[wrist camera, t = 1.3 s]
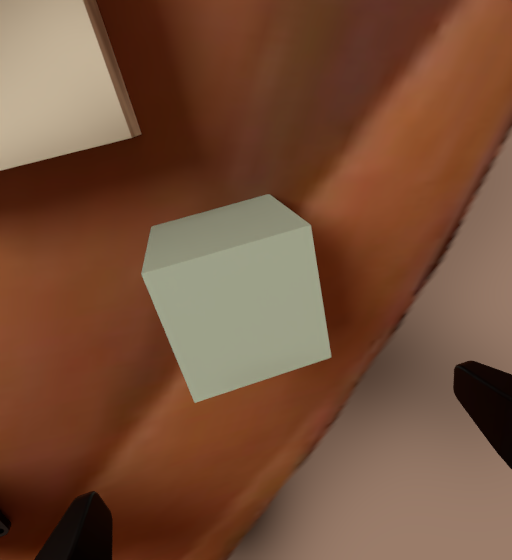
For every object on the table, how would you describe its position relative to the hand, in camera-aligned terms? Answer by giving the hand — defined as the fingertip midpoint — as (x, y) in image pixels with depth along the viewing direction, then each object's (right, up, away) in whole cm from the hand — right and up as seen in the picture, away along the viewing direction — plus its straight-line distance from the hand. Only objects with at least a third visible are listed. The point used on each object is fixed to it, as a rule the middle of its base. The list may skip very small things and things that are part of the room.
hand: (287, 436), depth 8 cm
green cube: (-2, +5, +10) cm, 11 cm away
